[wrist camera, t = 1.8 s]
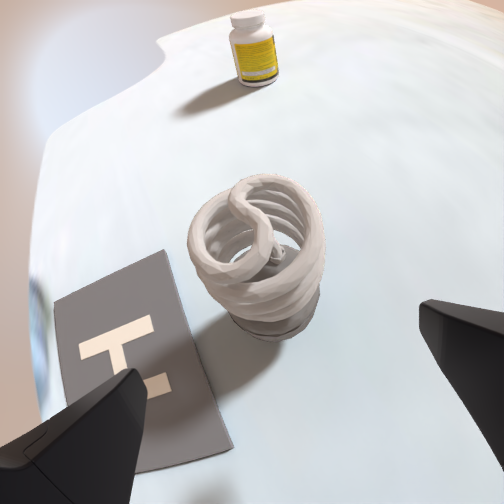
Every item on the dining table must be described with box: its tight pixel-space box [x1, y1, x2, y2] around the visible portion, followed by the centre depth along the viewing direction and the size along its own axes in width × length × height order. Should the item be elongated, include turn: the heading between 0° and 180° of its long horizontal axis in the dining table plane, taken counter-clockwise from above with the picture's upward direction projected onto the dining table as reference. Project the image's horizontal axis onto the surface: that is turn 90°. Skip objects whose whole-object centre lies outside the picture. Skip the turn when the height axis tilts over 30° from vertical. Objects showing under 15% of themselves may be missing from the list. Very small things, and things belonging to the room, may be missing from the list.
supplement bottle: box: [229, 10, 279, 87], centre depth 33 cm, size 5×5×10 cm
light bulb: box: [187, 174, 326, 342], centre depth 16 cm, size 6×6×12 cm
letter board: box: [54, 249, 234, 473], centre depth 21 cm, size 16×12×1 cm
